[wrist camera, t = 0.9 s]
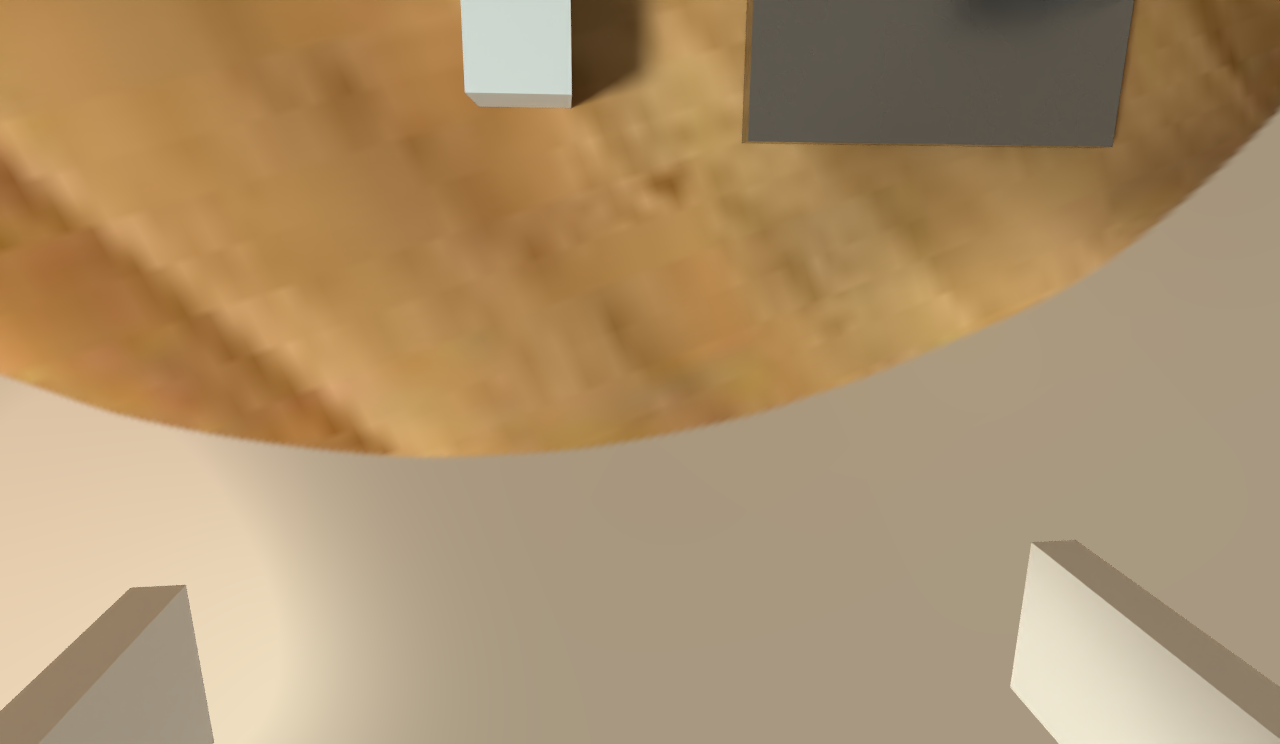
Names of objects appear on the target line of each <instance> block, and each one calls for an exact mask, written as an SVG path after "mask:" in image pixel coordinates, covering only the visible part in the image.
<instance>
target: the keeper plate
mask: <svg viewBox="0 0 1280 744" xmlns="http://www.w3.org/2000/svg"><path fill="white" fill-rule="evenodd" d="M1133 4H1134V0H747V20H746V47H745V74H744V101H743V128H742V143H766V144H836V145H907V146H977V147H1047V148H1103V147H1112V146H1113V139H1114V132H1115V125H1116V118H1117V112H1118V105H1119V98H1120V91H1121V85H1122V78H1123V71H1124V64H1125V58H1126V51H1127V44H1128V37H1129V31H1130V24H1131V17H1132V10H1133Z"/></svg>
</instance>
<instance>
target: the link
mask: <svg viewBox="0 0 1280 744" xmlns="http://www.w3.org/2000/svg"><path fill="white" fill-rule="evenodd" d="M461 17H462V39H463V61H464V84H465V93H466V94H467V95H468V96H469V97H470V98H471V99H472V100H473V101H474V102H475V103H476V104H477V105H478V106H479V107H533V108H571V100H572V70H571V0H461Z"/></svg>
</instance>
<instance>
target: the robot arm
mask: <svg viewBox="0 0 1280 744" xmlns="http://www.w3.org/2000/svg"><path fill="white" fill-rule="evenodd" d="M1010 687H1011V688H1012V690H1013V691H1014V692H1015V693H1016V694H1017V696H1018V697H1019V698H1020V699H1021V700H1022V701H1023V703H1024V704H1025V705H1026V706H1027V707H1028V708H1029V709H1030V711H1031V712H1032V713H1033V714H1034V715H1035V716H1036V718H1037V719H1038V720H1039V721H1040V722H1041V723H1042V725H1043V726H1044V727H1045V728H1046V729H1047V730H1048V731H1049V733H1050V734H1051V735H1052V736H1053V737H1054V738H1055V740H1056V741H1057V742H1058V743H1059V744H1280V687H1279V686H1278V685H1276V684H1275V683H1274V682H1272V681H1271V680H1269V679H1268V678H1267V677H1265V676H1264V675H1262V674H1261V673H1260V672H1258V671H1257V670H1255V669H1254V668H1253V667H1251V666H1250V665H1249V664H1247V663H1246V662H1245V661H1243V660H1241V659H1240V658H1239V657H1238V656H1236V655H1235V654H1233V653H1232V652H1231V651H1229V650H1228V649H1226V648H1225V647H1224V646H1222V645H1221V644H1220V643H1218V642H1217V641H1215V640H1214V639H1212V638H1211V637H1210V636H1208V635H1207V634H1206V633H1204V632H1203V631H1201V630H1200V629H1199V628H1197V627H1196V626H1194V625H1193V624H1191V623H1190V622H1189V621H1187V620H1186V619H1185V618H1183V617H1182V616H1180V615H1179V614H1178V613H1176V612H1175V611H1173V610H1172V609H1171V608H1169V607H1168V606H1167V605H1165V604H1164V603H1162V602H1161V601H1160V600H1158V599H1157V598H1156V597H1154V596H1153V595H1151V594H1150V593H1149V592H1147V591H1146V590H1144V589H1143V588H1142V587H1140V586H1139V585H1137V584H1136V583H1135V582H1133V581H1132V580H1131V579H1129V578H1128V577H1126V576H1125V575H1124V574H1122V573H1121V572H1119V571H1118V570H1116V569H1115V568H1114V567H1112V566H1111V565H1110V564H1108V563H1107V562H1105V561H1104V560H1103V559H1101V558H1100V557H1099V556H1097V555H1096V554H1094V553H1093V552H1092V551H1090V550H1089V549H1087V548H1086V547H1085V546H1083V545H1082V544H1080V543H1079V542H1078V541H1076V540H1069V541H1049V542H1032V543H1031V550H1030V556H1029V564H1028V570H1027V577H1026V584H1025V591H1024V598H1023V604H1022V611H1021V618H1020V624H1019V631H1018V638H1017V645H1016V652H1015V658H1014V665H1013V673H1012V679H1011V686H1010ZM213 743H214V739H213V734H212V728H211V723H210V718H209V712H208V706H207V700H206V695H205V689H204V684H203V678H202V673H201V667H200V661H199V656H198V651H197V645H196V639H195V634H194V628H193V622H192V617H191V611H190V606H189V600H188V595H187V589H186V585H176V586H156V587H136V588H130V589H129V590H128V591H127V592H126V593H125V594H124V595H123V596H122V597H121V598H119V600H117V601H116V602H115V603H114V604H113V605H112V606H111V607H110V608H109V609H108V610H107V611H106V612H105V613H104V614H102V615H101V616H100V617H99V618H98V619H97V620H96V621H95V622H94V623H93V624H92V625H91V626H90V627H89V628H88V629H87V630H86V631H85V632H83V634H81V635H80V636H79V637H78V638H77V639H76V640H75V641H74V642H73V643H72V644H71V645H70V646H69V647H68V648H67V649H66V650H65V651H64V652H62V654H60V655H59V656H58V657H57V658H56V659H55V660H54V661H53V662H52V663H51V664H50V665H49V666H48V667H47V668H46V669H44V670H43V671H42V672H41V673H40V674H39V675H38V676H37V677H36V678H35V679H34V680H33V681H32V682H31V683H30V684H29V685H28V686H26V688H24V689H23V690H22V691H21V692H20V693H19V694H18V695H17V696H16V697H15V698H14V699H13V700H12V701H11V702H10V703H9V704H7V705H6V706H5V707H4V708H3V709H2V710H1V711H0V744H213Z"/></svg>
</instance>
